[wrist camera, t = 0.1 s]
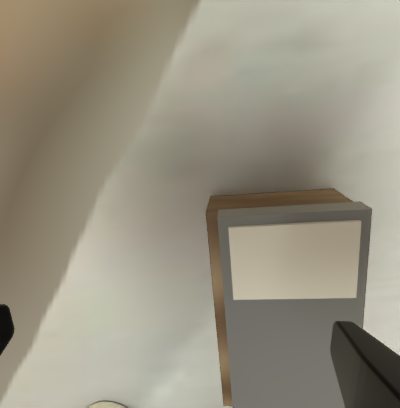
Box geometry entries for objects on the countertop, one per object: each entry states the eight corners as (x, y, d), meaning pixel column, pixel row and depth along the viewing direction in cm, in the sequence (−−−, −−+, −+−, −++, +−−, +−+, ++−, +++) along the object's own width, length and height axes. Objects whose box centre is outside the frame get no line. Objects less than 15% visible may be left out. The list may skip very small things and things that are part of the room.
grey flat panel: (339, 446, 19) (352, 486, 17) (237, 442, 20) (238, 478, 18) (353, 197, 15) (374, 210, 12) (219, 205, 15) (217, 218, 13)
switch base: (327, 365, 25) (353, 432, 19) (224, 363, 26) (223, 426, 21) (333, 188, 20) (369, 212, 15) (210, 196, 21) (203, 221, 16)
